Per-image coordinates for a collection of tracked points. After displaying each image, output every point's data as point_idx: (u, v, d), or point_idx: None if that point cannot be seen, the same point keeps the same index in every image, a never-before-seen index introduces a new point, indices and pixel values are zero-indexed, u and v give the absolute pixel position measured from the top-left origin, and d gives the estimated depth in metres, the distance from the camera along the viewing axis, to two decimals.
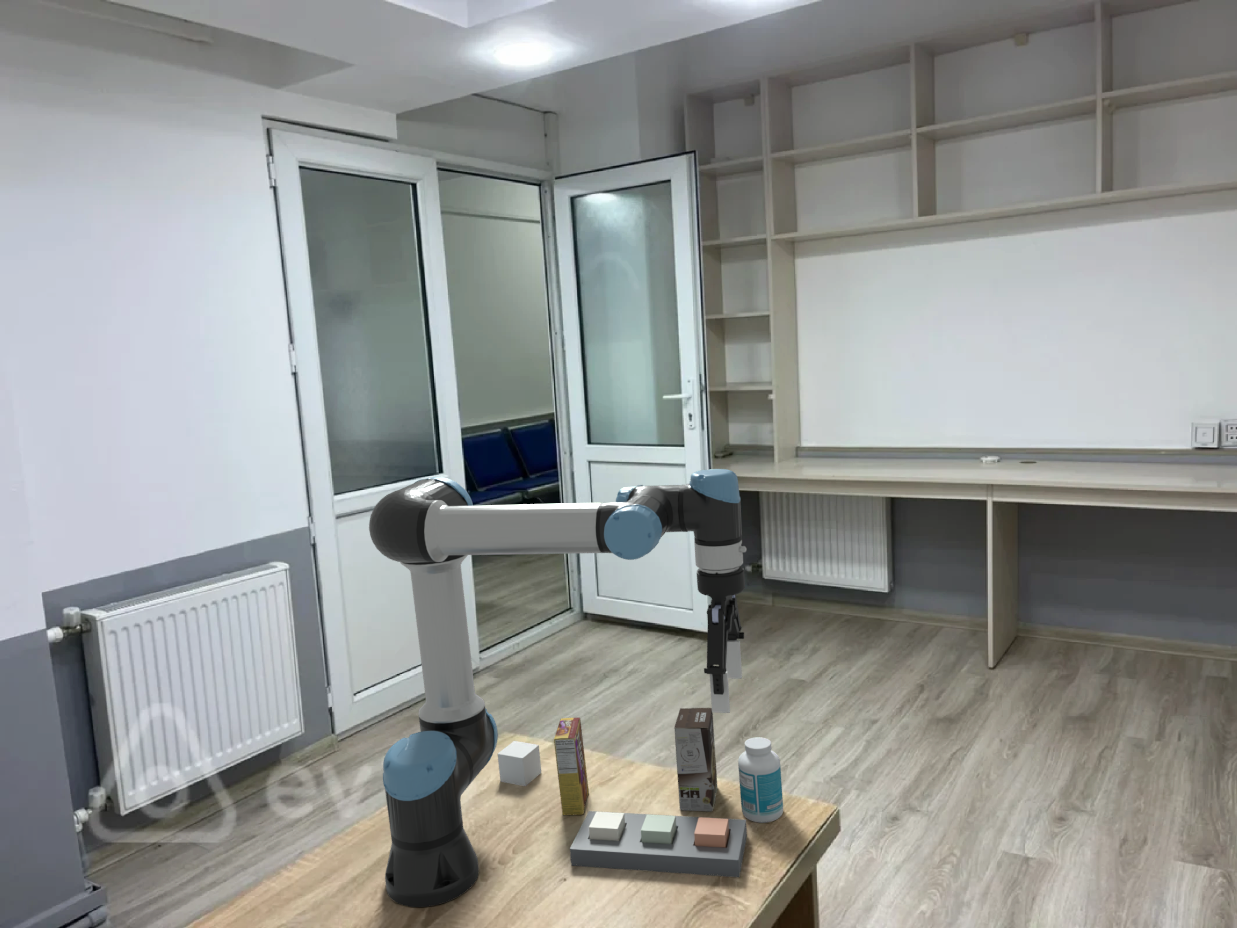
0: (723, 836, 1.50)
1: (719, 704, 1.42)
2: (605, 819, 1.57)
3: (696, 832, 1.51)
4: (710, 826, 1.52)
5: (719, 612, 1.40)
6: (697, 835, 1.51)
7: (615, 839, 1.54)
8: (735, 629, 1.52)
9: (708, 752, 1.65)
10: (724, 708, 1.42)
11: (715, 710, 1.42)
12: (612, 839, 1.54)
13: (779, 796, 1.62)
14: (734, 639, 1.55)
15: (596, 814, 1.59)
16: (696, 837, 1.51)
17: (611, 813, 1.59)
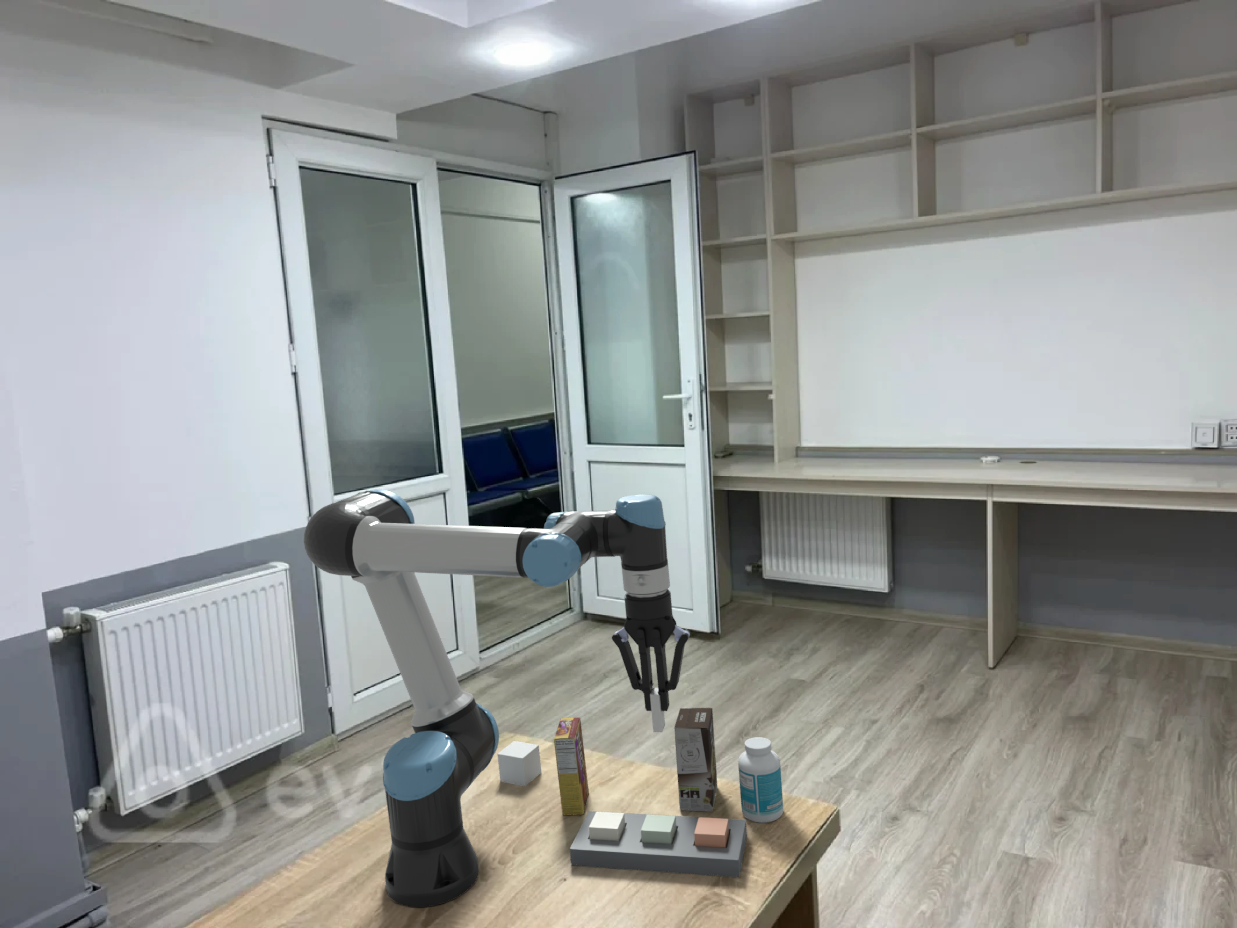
0: (723, 836, 1.50)
1: None
2: (605, 819, 1.57)
3: (696, 832, 1.51)
4: (710, 826, 1.52)
5: None
6: (697, 835, 1.51)
7: (615, 839, 1.54)
8: (657, 672, 1.49)
9: (708, 752, 1.65)
10: None
11: None
12: (612, 839, 1.54)
13: (779, 796, 1.62)
14: None
15: (596, 814, 1.59)
16: (696, 837, 1.51)
17: (611, 813, 1.59)
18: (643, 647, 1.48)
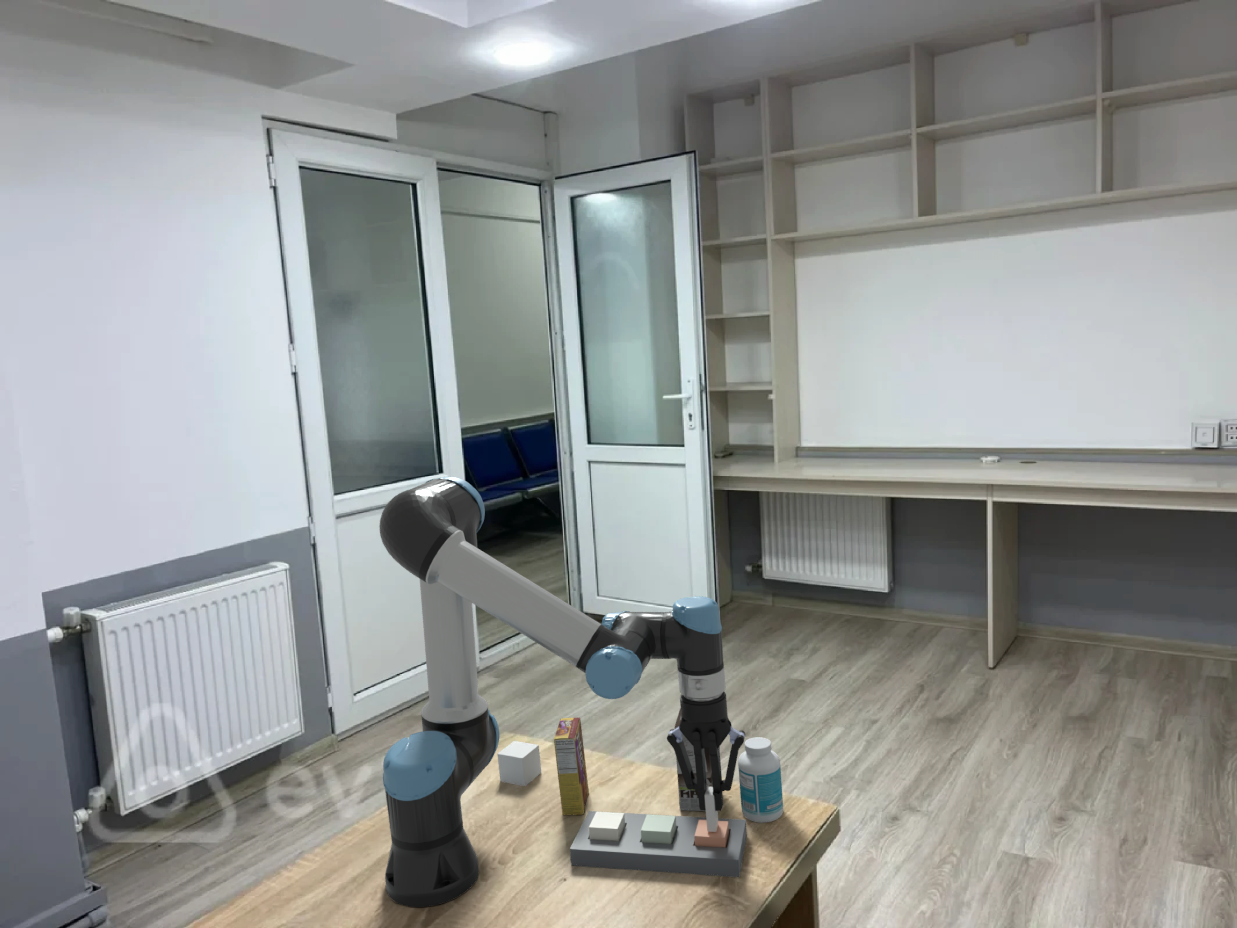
0: (723, 838, 1.50)
1: None
2: (605, 819, 1.57)
3: (696, 834, 1.51)
4: None
5: None
6: (697, 837, 1.51)
7: (615, 839, 1.54)
8: None
9: (708, 752, 1.65)
10: None
11: None
12: (612, 839, 1.54)
13: (779, 796, 1.62)
14: None
15: (596, 814, 1.59)
16: (696, 839, 1.51)
17: (611, 813, 1.59)
18: (698, 748, 1.49)
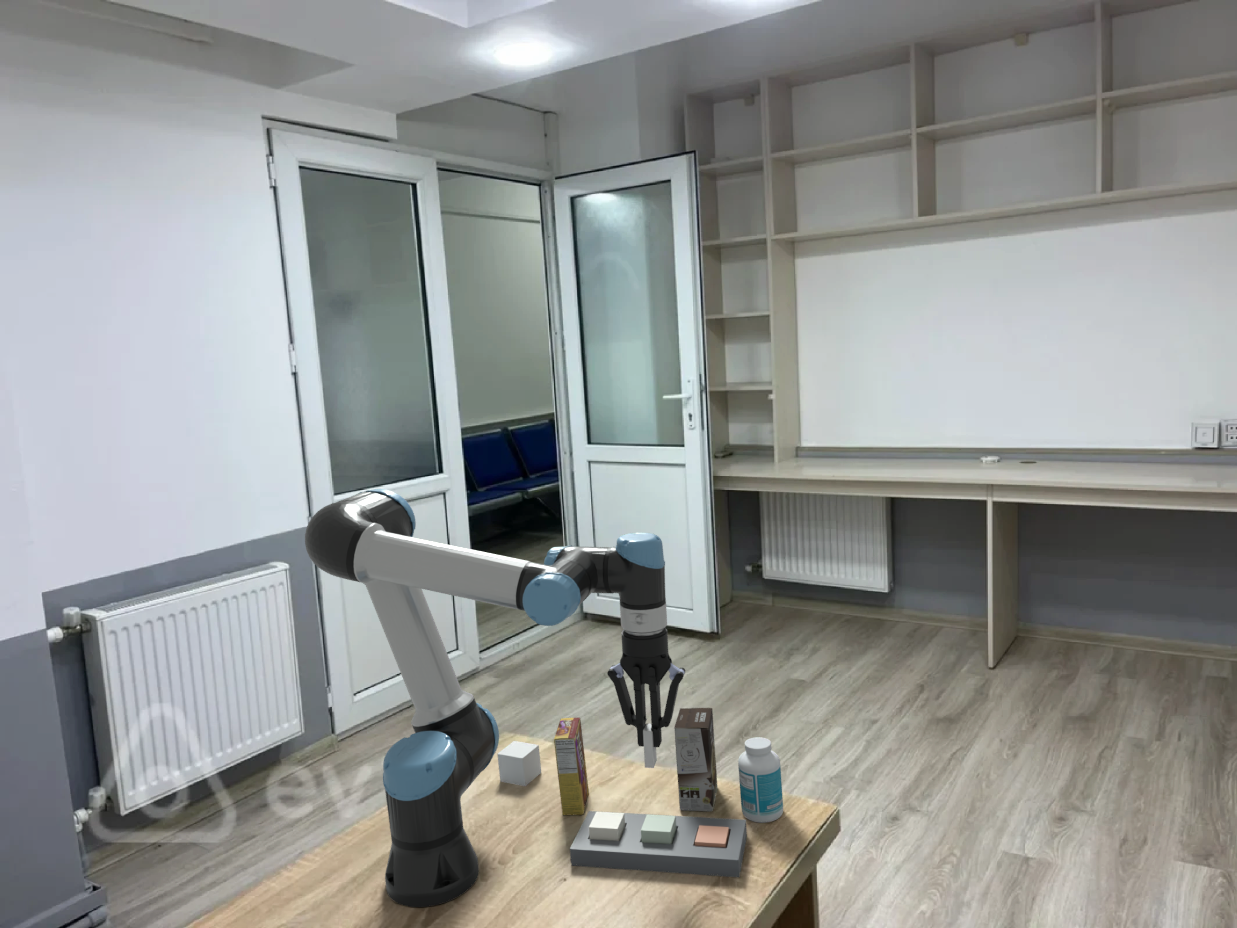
0: (724, 844, 1.50)
1: None
2: (605, 819, 1.57)
3: (697, 840, 1.51)
4: (710, 835, 1.53)
5: None
6: (697, 843, 1.51)
7: (615, 839, 1.54)
8: None
9: (708, 752, 1.65)
10: None
11: None
12: (612, 839, 1.54)
13: (779, 796, 1.62)
14: None
15: (596, 814, 1.59)
16: (697, 845, 1.51)
17: (611, 813, 1.59)
18: (638, 684, 1.50)
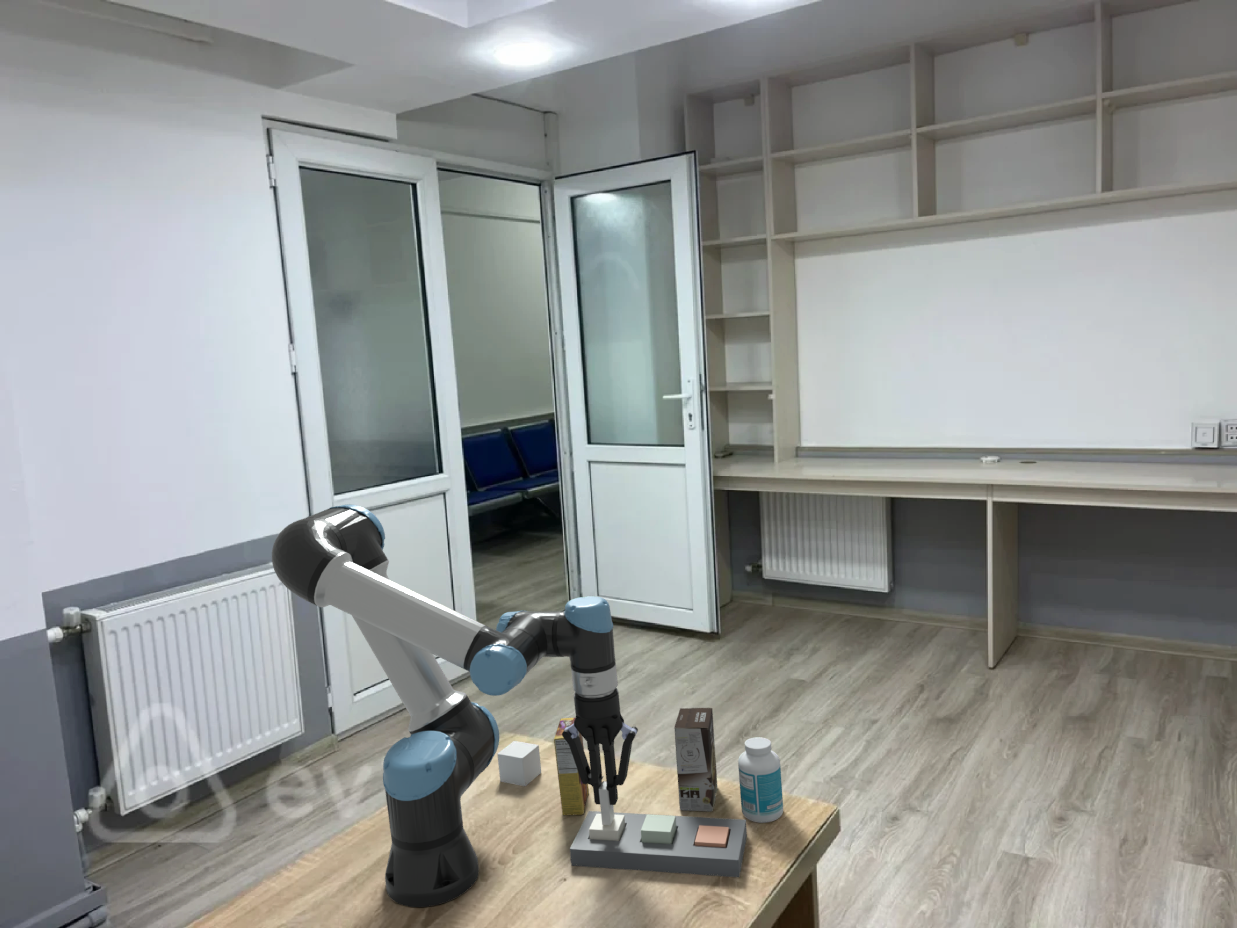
0: (724, 844, 1.50)
1: None
2: None
3: (697, 840, 1.51)
4: (710, 835, 1.53)
5: None
6: (697, 843, 1.51)
7: None
8: None
9: (708, 752, 1.65)
10: None
11: None
12: None
13: (779, 796, 1.62)
14: None
15: (596, 816, 1.59)
16: (697, 845, 1.51)
17: None
18: (592, 744, 1.53)
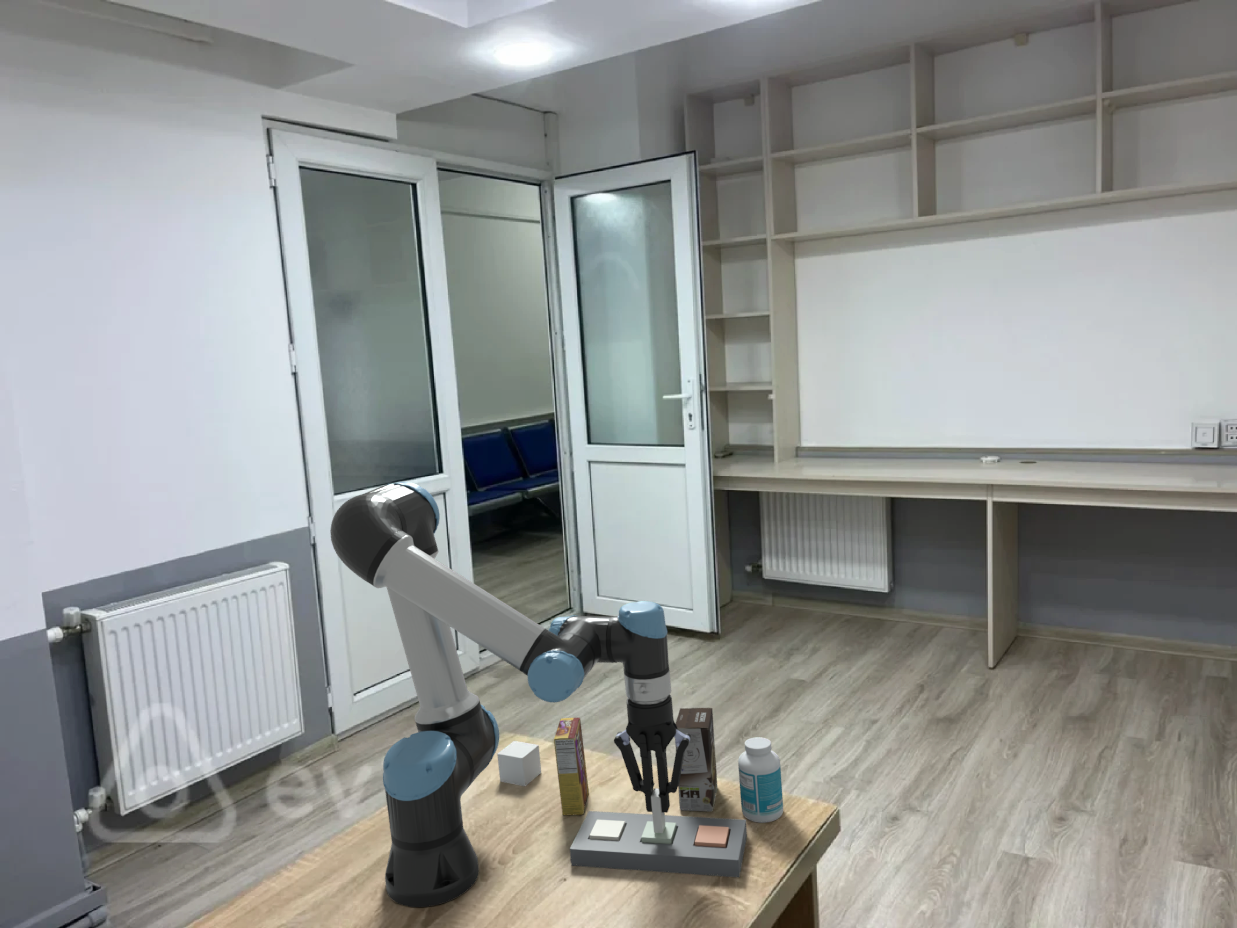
0: (724, 844, 1.50)
1: None
2: (606, 827, 1.57)
3: (697, 840, 1.51)
4: (710, 835, 1.53)
5: None
6: (697, 843, 1.51)
7: None
8: (658, 775, 1.52)
9: (708, 752, 1.65)
10: None
11: None
12: None
13: (779, 796, 1.62)
14: None
15: (597, 822, 1.59)
16: (697, 845, 1.51)
17: (612, 821, 1.59)
18: (644, 751, 1.51)
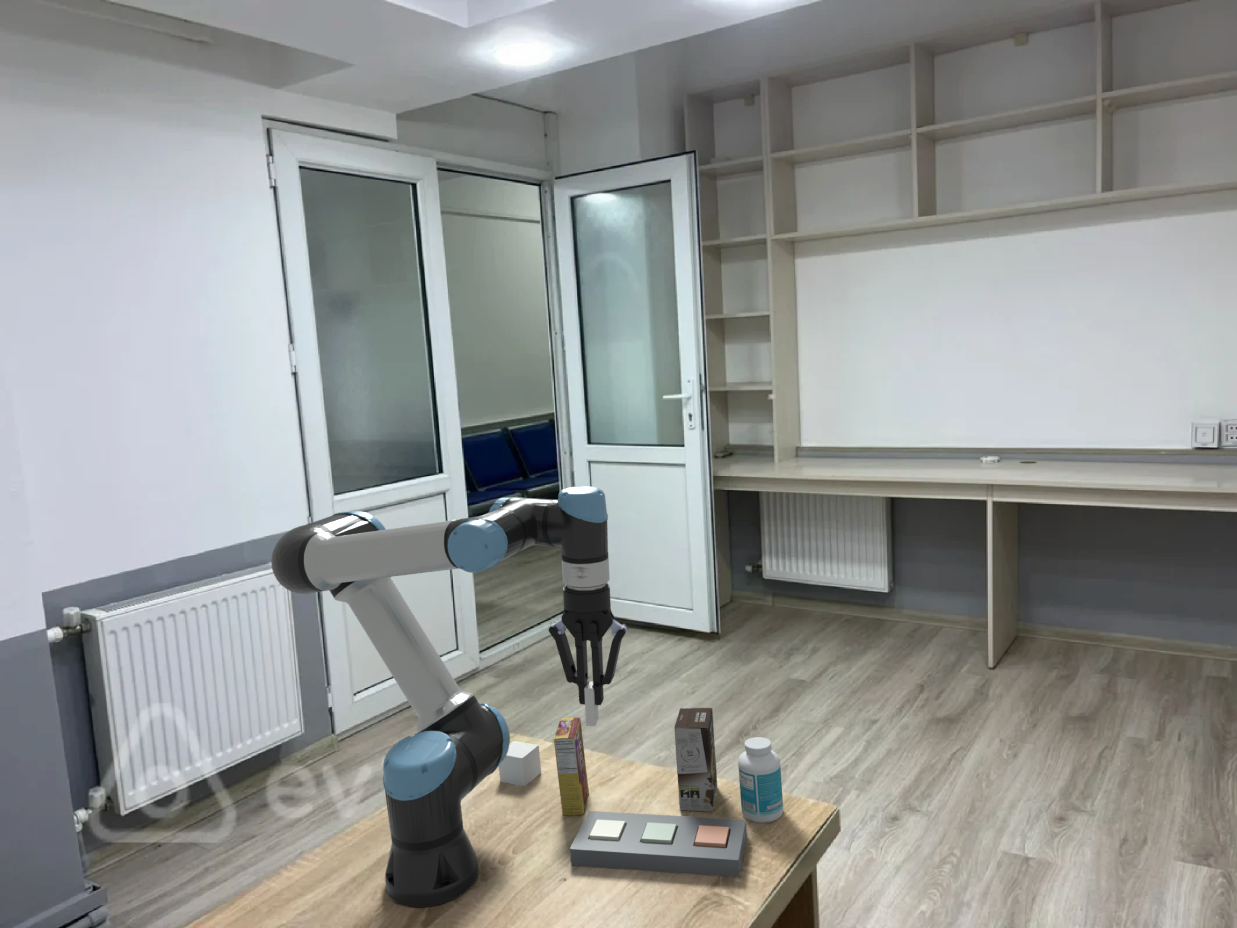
0: (724, 844, 1.50)
1: None
2: (606, 827, 1.57)
3: (697, 840, 1.51)
4: (710, 835, 1.53)
5: None
6: (697, 843, 1.51)
7: None
8: None
9: (708, 752, 1.65)
10: None
11: None
12: None
13: (779, 796, 1.62)
14: None
15: (597, 822, 1.59)
16: (697, 845, 1.51)
17: (612, 821, 1.59)
18: (579, 640, 1.47)
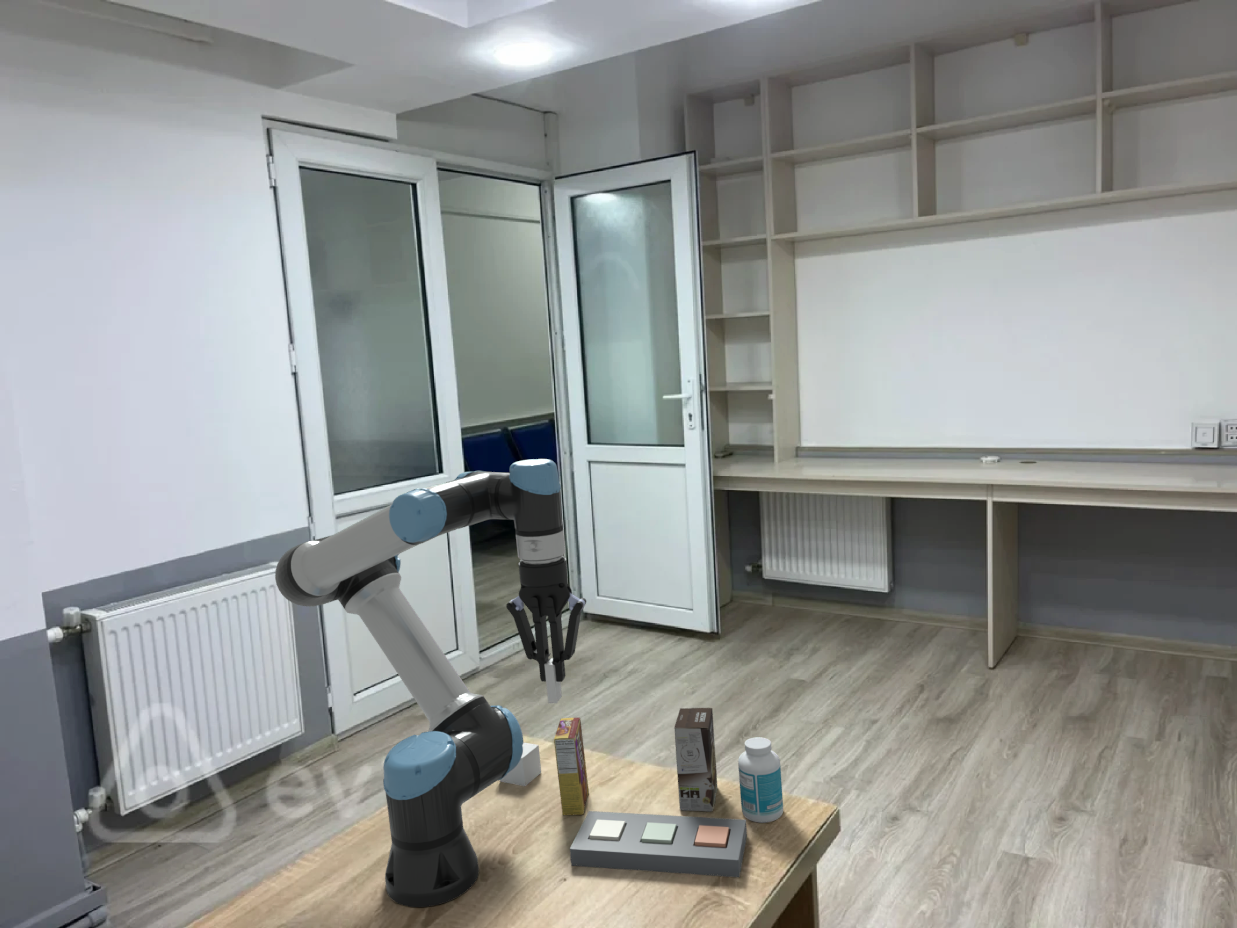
0: (724, 844, 1.50)
1: None
2: (606, 827, 1.57)
3: (697, 840, 1.51)
4: (710, 835, 1.53)
5: None
6: (697, 843, 1.51)
7: None
8: None
9: (708, 752, 1.65)
10: None
11: None
12: None
13: (779, 796, 1.62)
14: None
15: (597, 822, 1.59)
16: (697, 845, 1.51)
17: (612, 821, 1.59)
18: (537, 615, 1.45)
